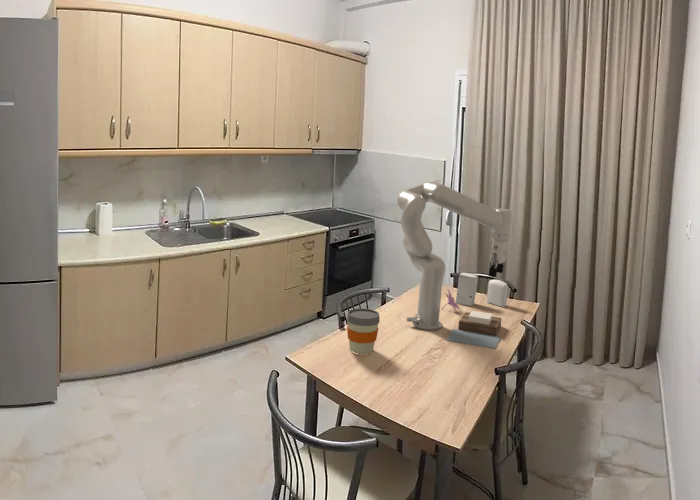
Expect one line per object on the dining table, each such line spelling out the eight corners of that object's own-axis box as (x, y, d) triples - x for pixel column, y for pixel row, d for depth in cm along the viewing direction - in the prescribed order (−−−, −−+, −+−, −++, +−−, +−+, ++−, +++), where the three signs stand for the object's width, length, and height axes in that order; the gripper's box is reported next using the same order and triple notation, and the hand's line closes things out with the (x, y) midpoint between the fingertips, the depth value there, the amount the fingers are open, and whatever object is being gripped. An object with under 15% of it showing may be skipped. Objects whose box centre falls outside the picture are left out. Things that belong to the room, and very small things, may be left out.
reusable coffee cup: (358, 359, 224) (360, 321, 221) (338, 347, 234) (340, 311, 231) (384, 352, 232) (386, 315, 228) (364, 342, 242) (366, 306, 238)
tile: (471, 316, 267) (472, 310, 267) (492, 319, 264) (492, 314, 264) (468, 321, 260) (468, 315, 260) (489, 324, 257) (489, 319, 256)
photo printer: (485, 302, 302) (487, 278, 299) (490, 300, 305) (493, 277, 302) (502, 307, 294) (504, 283, 292) (507, 306, 297) (510, 282, 294)
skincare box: (455, 303, 298) (458, 274, 295) (459, 300, 303) (461, 271, 300) (471, 306, 294) (474, 277, 291) (475, 303, 299) (478, 274, 296)
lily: (446, 318, 279) (458, 301, 277) (429, 302, 286) (441, 286, 283) (458, 320, 288) (470, 304, 286) (442, 304, 295) (453, 289, 293)
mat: (453, 329, 261) (453, 328, 261) (500, 337, 254) (500, 337, 254) (446, 340, 248) (446, 339, 248) (495, 349, 241) (495, 348, 241)
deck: (464, 320, 273) (465, 312, 272) (500, 326, 268) (501, 318, 267) (458, 330, 260) (459, 321, 260) (495, 336, 255) (496, 327, 254)
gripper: (502, 241, 256) (498, 279, 260) (514, 235, 270) (509, 272, 274) (485, 238, 259) (481, 276, 263) (497, 232, 274) (493, 269, 278)
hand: (495, 274), depth 269 cm, fingers open, 9 cm apart
